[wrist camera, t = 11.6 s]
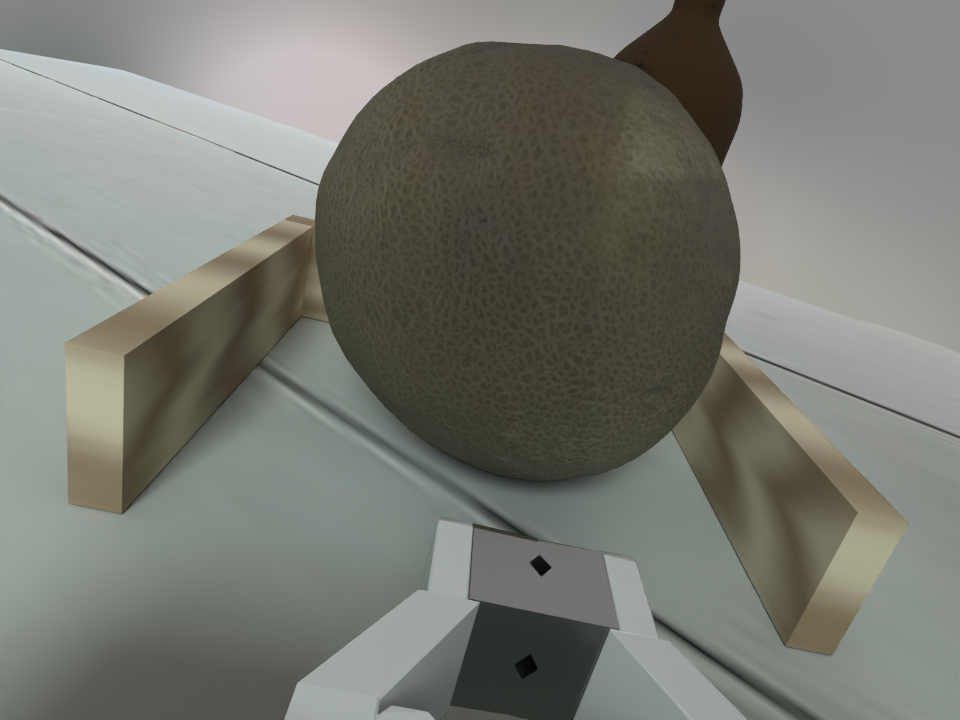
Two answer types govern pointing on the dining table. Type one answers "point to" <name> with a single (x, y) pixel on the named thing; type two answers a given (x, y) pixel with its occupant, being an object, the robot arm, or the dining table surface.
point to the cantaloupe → (529, 257)
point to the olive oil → (694, 68)
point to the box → (297, 292)
